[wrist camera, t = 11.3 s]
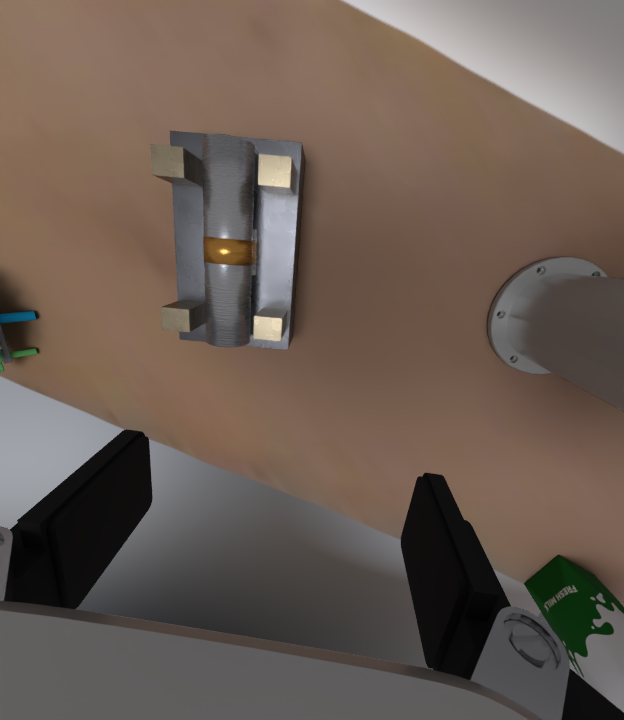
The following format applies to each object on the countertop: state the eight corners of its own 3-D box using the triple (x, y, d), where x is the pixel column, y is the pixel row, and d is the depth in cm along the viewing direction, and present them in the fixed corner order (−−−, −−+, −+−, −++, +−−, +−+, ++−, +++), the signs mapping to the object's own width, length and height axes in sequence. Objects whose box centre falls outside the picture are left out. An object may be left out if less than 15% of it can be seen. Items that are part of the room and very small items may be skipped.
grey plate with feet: (305, 158, 31) (297, 125, 23) (292, 337, 37) (282, 363, 29) (193, 148, 32) (144, 111, 23) (198, 327, 37) (160, 351, 29)
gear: (-54, 262, 35) (-60, 289, 28) (19, 261, 38) (28, 284, 32) (-20, 354, 40) (-19, 394, 33) (41, 345, 43) (53, 379, 37)
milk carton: (559, 608, 50) (703, 829, 31) (513, 584, 48) (634, 799, 29) (604, 573, 47) (792, 792, 28) (557, 547, 46) (720, 757, 27)
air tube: (211, 147, 27) (192, 131, 23) (259, 152, 27) (250, 136, 23) (213, 333, 32) (198, 344, 28) (254, 336, 32) (245, 349, 28)
